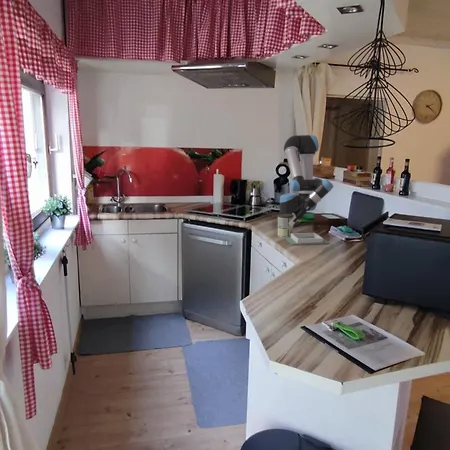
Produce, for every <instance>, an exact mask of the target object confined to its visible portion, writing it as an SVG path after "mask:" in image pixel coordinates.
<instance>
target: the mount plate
mask: <svg viewBox="0 0 450 450" xmlns="http://www.w3.org/2000/svg"><path fill="white" fill-rule="evenodd" d="M284 239H285V240H286V241H287V242H288V243H289V244H291V246H311V245H312V246H313V245H314V246H315V245H318V246H319V245H329V242H328V241H327V240H326V239H324V238H323V237H321V236H320V235H319V234H317V233H316V232H297V233H296V232H295V233H294V232H293V234H291V237H285V238H284Z"/></svg>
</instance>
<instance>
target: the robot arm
mask: <svg viewBox="0 0 450 450" xmlns="http://www.w3.org/2000/svg"><path fill="white" fill-rule="evenodd" d="M319 147H320V146H319V140H318V138H317V136H316V135H312V134H307V135H306V134H304V135H303V134H302V135H301V134H300V135H299V134H298V135H297V134H296V135H291V136H290V137H288V139H286V141H285V142H284V145H283V153H284V155H285V157H286V159H287V163H288V167H289V172H290V175H291V180H290V185H289V186H290V187H289V188H290V191H292V193H291V192H289V193H284V194H282V195H279V196H280V197H279V214H293V215H294V216H293V219H292V220H291V221H290V222H289V223H288V224H289V225H290V226H291V227H292V226H293V228H296V227H298V226H299V222H298V221H300V220H301V219H302V218H303V217H304V215H305V214H306V213H307V212H310V211H314V210H315V209H316V208H317V206H318V203H319V202H321V200H322V199H323V198H324V197H325V196H326V195H328V194H329V193H330V192H331V191H332V190H333V188H334V185H333V183H332V182H331V181H330V180H328V179H327V178H325V179H324V180H323V179H322V178H318V177H315V178H314V157H315V156H316V153H317V152H318V151H319ZM299 156H300V159H299ZM295 192H298V194H297V193H295ZM276 225H277V227H278V220H277V222H276Z"/></svg>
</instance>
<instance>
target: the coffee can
mask: <svg viewBox="0 0 450 450" xmlns="http://www.w3.org/2000/svg"><path fill="white" fill-rule="evenodd" d="M293 216H294V215H293V214H280V213H278V214H277V221H278V226H277V236H278V237H279V238H284V239H285V237H291V234H293V233H294V227H293V226H292V227H291V226H290V225H289V224H288V223H289V222H290V221H291V220H292V219H293Z"/></svg>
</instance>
